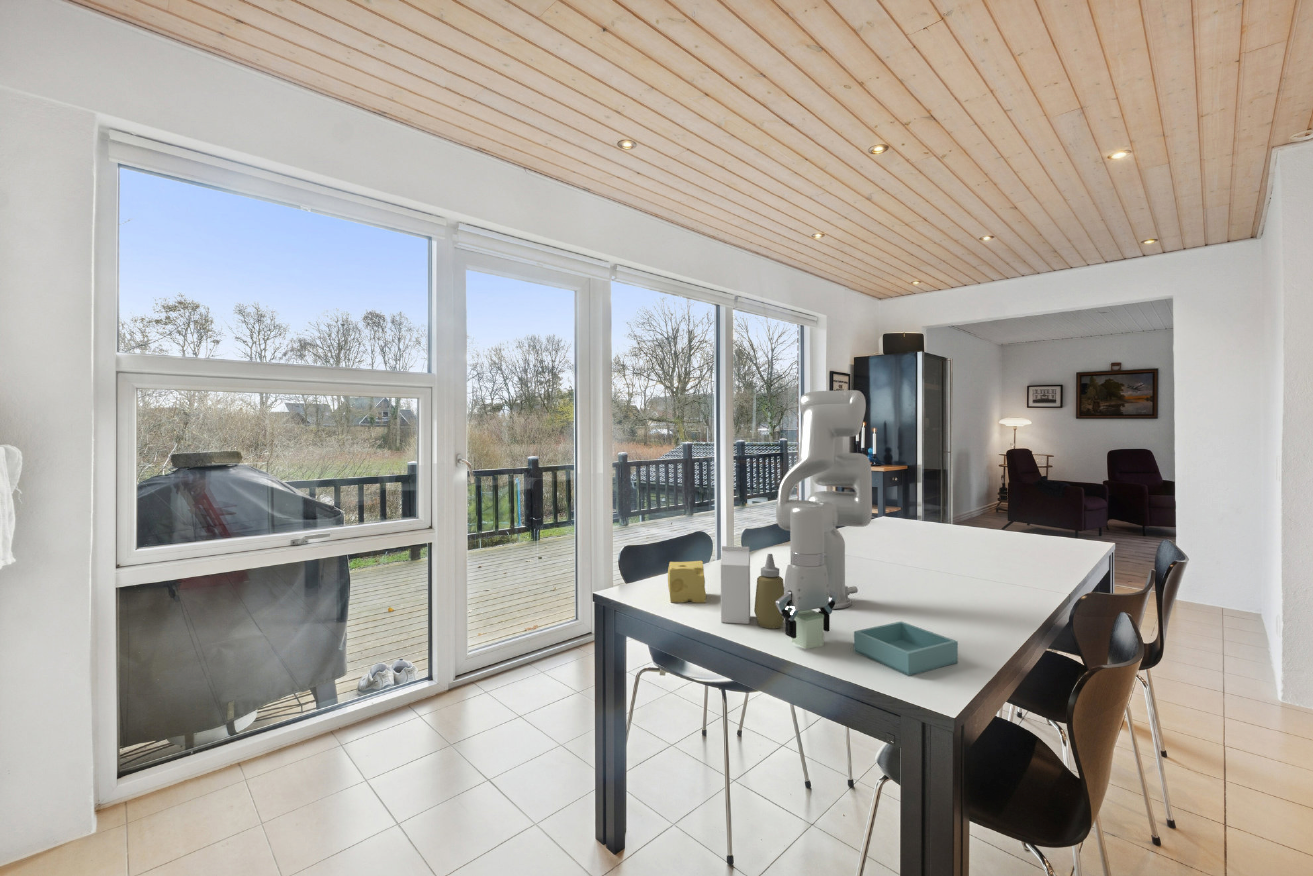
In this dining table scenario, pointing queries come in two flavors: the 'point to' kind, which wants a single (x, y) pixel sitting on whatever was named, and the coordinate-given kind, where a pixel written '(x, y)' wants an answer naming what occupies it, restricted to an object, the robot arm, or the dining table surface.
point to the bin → (906, 647)
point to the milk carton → (735, 584)
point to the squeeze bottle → (769, 595)
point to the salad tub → (809, 629)
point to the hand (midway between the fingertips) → (807, 633)
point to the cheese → (686, 582)
